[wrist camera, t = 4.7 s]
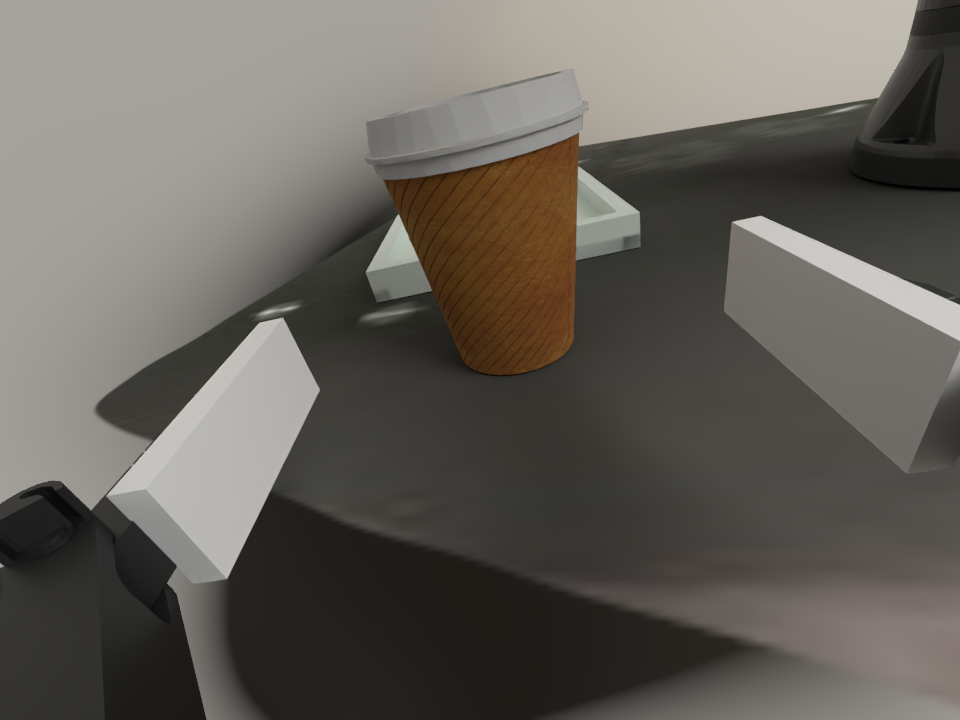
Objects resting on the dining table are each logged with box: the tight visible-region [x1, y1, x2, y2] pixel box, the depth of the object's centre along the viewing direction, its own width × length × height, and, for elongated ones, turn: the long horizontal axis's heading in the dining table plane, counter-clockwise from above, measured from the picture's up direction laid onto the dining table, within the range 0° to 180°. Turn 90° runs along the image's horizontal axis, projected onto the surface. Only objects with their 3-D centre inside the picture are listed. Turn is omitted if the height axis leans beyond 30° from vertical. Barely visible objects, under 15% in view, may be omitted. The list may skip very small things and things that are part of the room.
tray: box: [366, 167, 641, 303], centre depth 41 cm, size 20×20×2 cm
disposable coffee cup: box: [365, 69, 588, 375], centre depth 21 cm, size 10×10×12 cm
